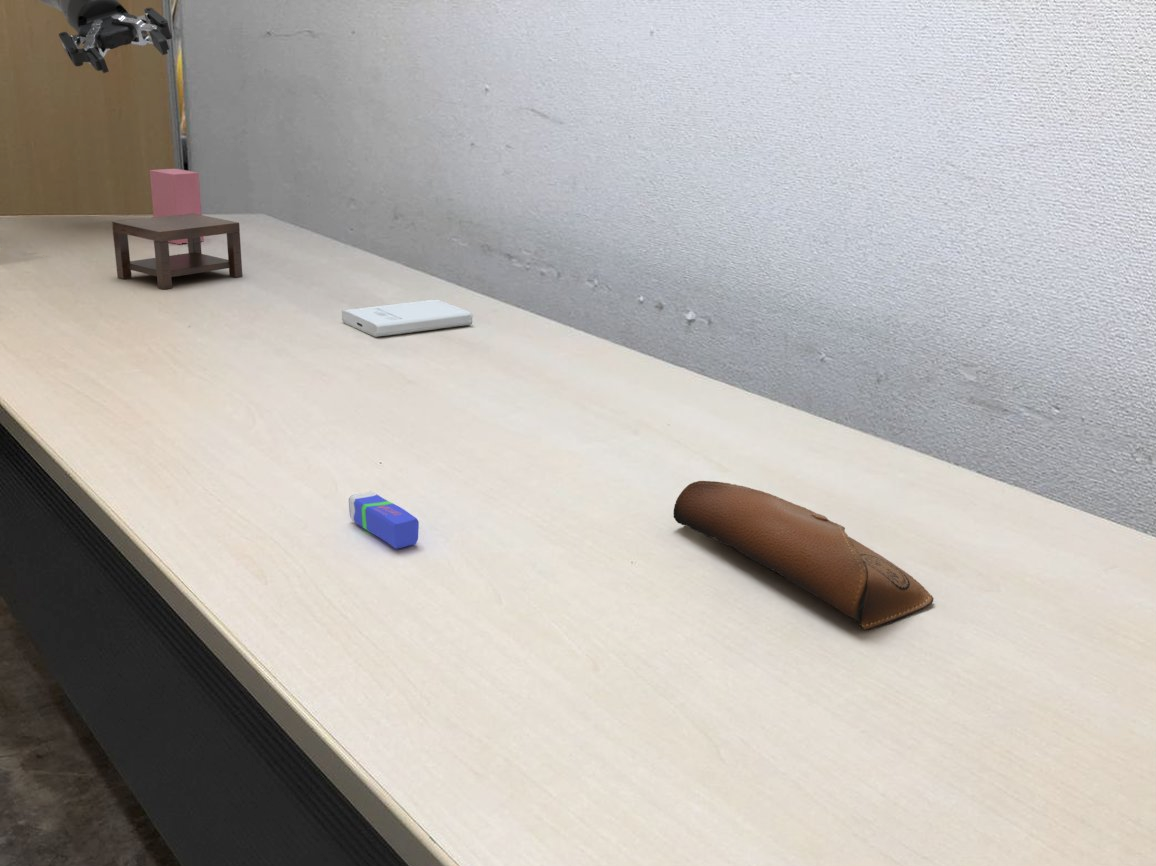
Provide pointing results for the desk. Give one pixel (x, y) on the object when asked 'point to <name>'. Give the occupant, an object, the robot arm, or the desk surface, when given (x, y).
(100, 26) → the robot arm
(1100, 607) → the desk surface
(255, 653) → the desk surface
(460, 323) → the hard drive
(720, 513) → the sunglasses case
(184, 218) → the wooden coffee table
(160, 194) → the pink box
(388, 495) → the desk surface
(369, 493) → the eraser
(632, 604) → the desk surface
